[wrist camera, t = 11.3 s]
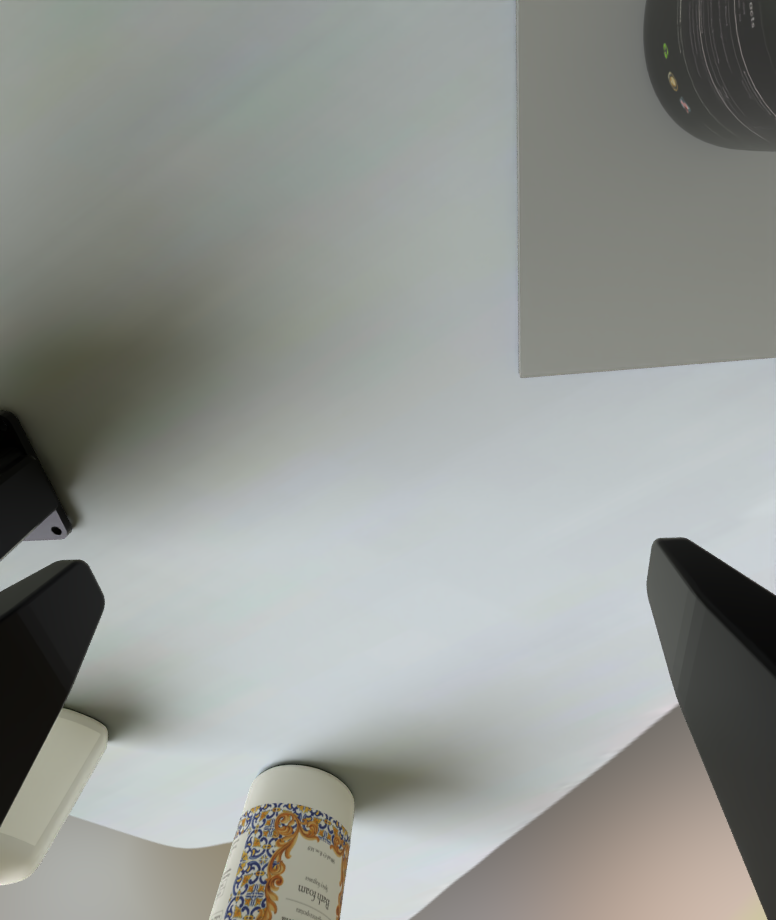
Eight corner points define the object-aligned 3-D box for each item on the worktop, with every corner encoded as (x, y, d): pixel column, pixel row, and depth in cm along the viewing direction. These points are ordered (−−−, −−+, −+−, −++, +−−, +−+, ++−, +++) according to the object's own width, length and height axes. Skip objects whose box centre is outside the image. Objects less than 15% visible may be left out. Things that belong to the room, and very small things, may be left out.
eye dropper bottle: (44, 685, 33) (-143, 936, 22) (122, 732, 34) (-17, 985, 24) (12, 713, 34) (-175, 957, 24) (88, 756, 36) (-55, 1001, 26)
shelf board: (518, 372, 20) (527, 400, 18) (514, -197, 13) (528, -267, 11) (887, 341, 18) (948, 369, 16) (1111, -332, 11) (1273, -449, 9)
